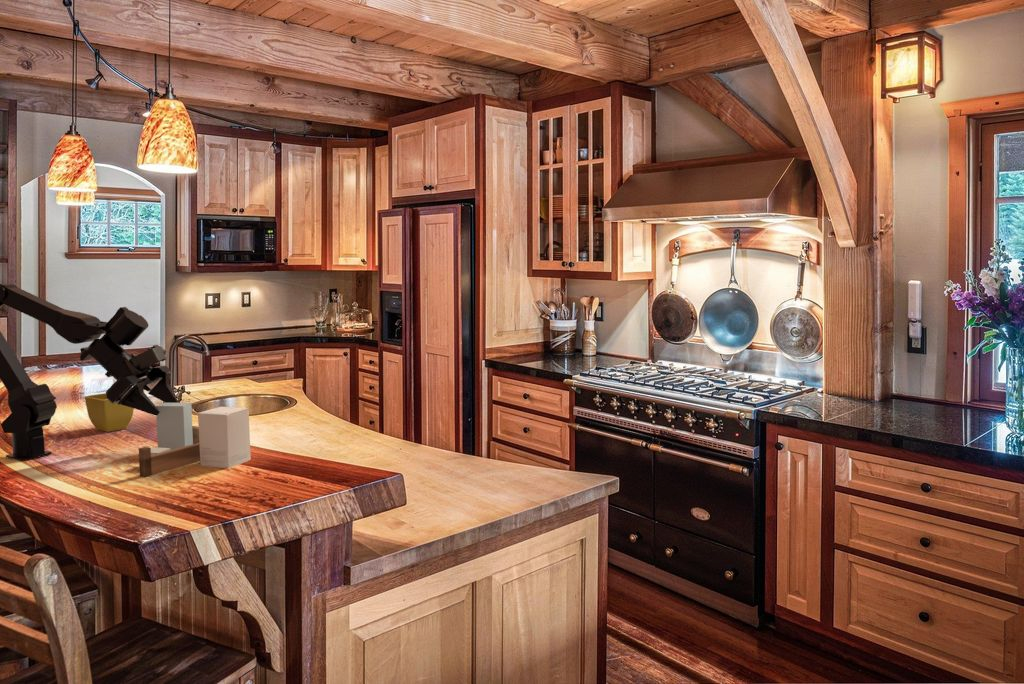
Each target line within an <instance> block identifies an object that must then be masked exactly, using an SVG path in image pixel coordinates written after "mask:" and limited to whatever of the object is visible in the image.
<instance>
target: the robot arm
mask: <svg viewBox="0 0 1024 684" xmlns="http://www.w3.org/2000/svg"><path fill="white" fill-rule="evenodd" d="M3 306H7V307H9V308H12V309H13V310H16V311H18V312H20V313H21V314H24V315H27V316H29V317H31V318H32V319H35V320H37V321H40V322H41V323H44V324H45V325H48V326H49V327H50V328H52V329H53V330H54V332H55V333H56V334H57V335H59V336H60V337H61V338H63V339H64V340H65V341H67V342H68V343H71V344H73V345H74V344H76V345H77V344H83V343H87V342H91V343H90V344H89V345H88V346H87V347H82V348H80V355H79V360H80V361H81V362H84V361H89V360H92V359H93V360H95V361H96V362H97V364H98V365H99V366H101V367H102V369H104V370H105V371H106V372H105V373H104V375H105V376H106V377H107V378H111V377H112V378H114V379H115V380H116V381H115V382H113V384H111V386H109V388H108V389H107V390H106V391H105V393H106V398H107V399H108V400H109V401H110V402H111V403H112V404H114V403H117V402H118V404H119V405H124V406H128V407H131V408H134V410H136V411H137V410H138V411H141V412H144V413H147V414H150V415H153V416H155V417H156V416H157V415H158V414H159V413H160V411H159V410H158V409H157V407H156V406H157V405H156V404H154V402H153V401H152V399H150V397H149V396H148V395H150V396H152V397H154V398H156V399H157V400H159V401H162V402H163V403H180V402H179V400H178V398H177V396H176V394H175V392H174V391H173V389H172V387H171V385H170V379H171V377H172V374H171V373H172V369H170V368H169V367H168V366H167V365H158V366H157V365H156V364H158V363H160V362H164V361H166V360H167V356H166V353H167V349H165V348H163V346H159V344H153V345H152V346H150V347H148V348H147V350H145V351H143V352H141V353H139V354H137V353H129V352H128V351H127V350H126V349H124V346H131V345H133V344H134V342H136V341H137V339H138V338H139V337H140V336H141V335H142V334H143V333H144V332H145V331H146V330H147V329H148V328H149V323H148V320H146V318H145V317H143V316H142V315H139V314H138V313H137V312H135V311H133V310H131V309H129V308H128V307H126V306H122V307H119V308H118V309H117V310H116V312H115V314H114V315H113V316H112V317H111V318H110V319H109V320H108V321H101V319H99V317H97V316H94V315H91V314H87V313H84V312H80V311H74V310H69V309H65V308H63V307H60V306H59V305H56V304H55V303H51V302H49V301H48V300H46V299H44V298H41V297H39V296H37V295H34V294H32V292H28V291H26V290H24V289H22V288H20V287H18V286H17V285H16V284H14V283H10V282H9V283H0V308H2V307H3ZM154 365H156V366H155V367H152V366H154ZM0 381H1V382H2V384H3V386H4V388H5V389H6V391H7V405H8V408H9V410H10V412H11V413H10V414H9V415H7V417H6V418H5V419H4V420H3V421H2V422H1V423H0V427H1V429H2V431H3V433H4V434H11V443H12V453H10V454H5V458H7V457H8V458H7V459H13V460H18V461H27V459H28V460H33V459H35V458H39V456H41V457H44V455H45V456H49V455H52V451H50V450H49V451H48V450H46V449H45V448H46V447H45V446H46V445H45V435H44V428H43V427H45V426H49V425H50V423H51V421H52V417H53V416H54V415H55V414H56V410H57V406H58V405H57V402H56V400H57V397H56V396H55V395H54V394H53V393H52V392H51V390H50V387H49V386H48V385H47V383H43V384H38V383H36V382H34V381H33V380H32V379H31V377H30V376H29V375H28V373H27V371H26V369H25V368H24V366H23V365H22V364H21V362H20V360H19V358H18V357H17V355H16V353H15V352H14V350H13V349H12V347H11V346H10V344H9V343H8V341H7V339H6V338H5V336H4V335H3V333H2V332H1V330H0ZM144 391H146V392H147V394H148V395H147V394H146V393H145V392H144Z"/></svg>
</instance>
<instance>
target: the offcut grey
mask: <svg viewBox="0 0 1024 684" xmlns="http://www.w3.org/2000/svg"><path fill="white" fill-rule="evenodd" d="M150 448H151V455H154V454H158V453H162V452H166V451H169V450H170V448H158V447H156V446H155V447H154V446H153V447H152V446H151V447H150Z"/></svg>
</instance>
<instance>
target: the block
mask: <svg viewBox="0 0 1024 684" xmlns="http://www.w3.org/2000/svg"><path fill="white" fill-rule="evenodd" d="M155 406H156V407H157V409H158V410H159V411H160V413H159V414H158V415H157V416H155V418H156V420H155V421H156V435H157V436H156V438H157V448H170V450H173V449H177V448H181V447H185V446H188V445H192V444H194V443H193V431H192V426H193V410H192V402H179V403H165V402H163V403H160V404H157V405H155Z"/></svg>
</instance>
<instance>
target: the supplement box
mask: <svg viewBox="0 0 1024 684" xmlns="http://www.w3.org/2000/svg"><path fill="white" fill-rule="evenodd" d="M249 411H250V410H249V408H247V407H246V408H245V407H231V406H218V407H214V408H211V409H207V410H203V411H201V412H200V411H199V412H197V417H198V418H197V421H198V427H199V445H200V461H199V462H200V466H202V467H203V466H204V467H211V468H220V469H230V468H233V467H236V466H239V465H241V464H244V463H247V462H249V461H250V460H251V459H252V458H251V457H252V456H251V455H252V454H251V439H250V438H251V435H250V432H251V431H250V416H249V414H250V413H249Z"/></svg>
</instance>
